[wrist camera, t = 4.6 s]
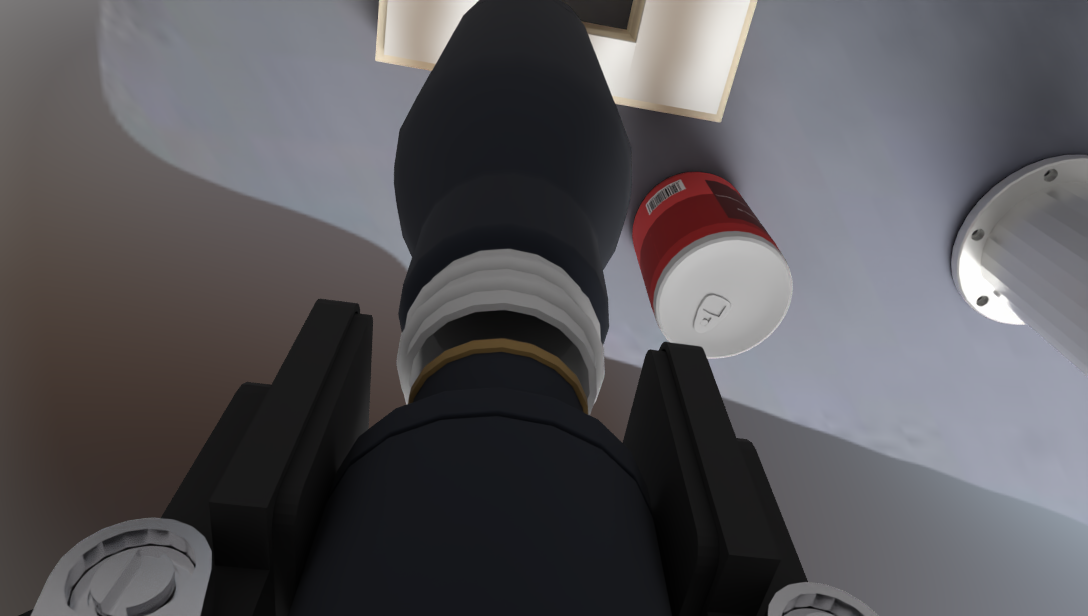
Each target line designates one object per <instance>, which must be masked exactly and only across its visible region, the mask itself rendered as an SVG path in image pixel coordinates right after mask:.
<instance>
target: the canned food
mask: <svg viewBox="0 0 1088 616" xmlns="http://www.w3.org/2000/svg"><path fill="white" fill-rule="evenodd" d="M632 238H633V244H634V249H635V252H636V255H637V259H638V262H639V266H640V269H641V273H642V276H643V279H644V283H645V286H646V290H647V293H648V297H649V300H650V303H651V307H652V309H653V312H654V315H655V318H656V321H657V323H658V326H659V328H660V329H661V331H662V333H663V334H664V336H665V337H666V338H667V340H668V341H669V342H671V343H679V344H687V345H695V346H701V347H702V348H703V349H704V351H705V354H706V357H707V358H709V359H713V358H725V357H730V356H734V355H737V354H740V353H743V352H745V351H748V350H750V349H751V348H753V347H755V346H756V345H758V344H760V343H761V342H762V341H764V340H765V339H766V338H767V337H768V336H770V335H771V334H772V333H773V331H774V330H775V329H776V328H777V327H778V326H779V324H780V323H781V321H782V320H783V318H784V317H785V315H786V313H787V310H788V308H789V305H790V303H791V297H792V291H793V287H792V277H791V273H790V270H789V267H788V265H787V262H786V260H785V258H784V257H783V255H782V253H781V252H780V250H779V249H778V247H777V245H776V244H775V242H774V241H773V240H772V238H771V237H770V235H769V234H768V233H767V231H766V230H765V228H764V227H763V226H762V224H761V223H760V221H759V220H758V219H757V217H756V216H755V215H754V213H753V212H752V210H751V209H750V208H749V206H748V205H747V203H746V202H745V201H744V199H743V198H742V196H741V195H740V194H739V192H738V191H737V190H736V189H735V188H734V187H733V186H732V185H731V184H730V183H729V182H728V181H726V180H724V179H723V178H721V177H719V176H716V175H713V174H709V173H703V172H685V173H681V174H677V175H674V176H672V177H670V178H667V179H665V180H664V181H662V182H661V183H659V184H658V185H656V186H655V187H654V188H653V189H652V190H651V191H650V192H649V193H648V194H647V196H646V197H645V199H644V200H643V201H642V203H641V205H640V207H639V209H638V211H637V214H636V216H635V220H634V224H633V234H632Z"/></svg>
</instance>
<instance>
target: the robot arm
mask: <svg viewBox="0 0 1088 616" xmlns="http://www.w3.org/2000/svg"><path fill="white" fill-rule="evenodd" d="M951 268H952V277H953V280H954V283H955V286H956V289H957V291H958V292H959V293H960V295H961V296H962V298H963V299H964V301H966V302H967V303H968V304H969V305H970V306H971V307H972V308H973V309H974V310H975V311H977V312H978V313H980V314H981V315H983V316H984V317H986V318H988V319H991V320H994V321H996V322H999V323H1006V324H1012V325H1028V326H1029V327H1030V328H1031V329H1032V330H1033V331H1035V332H1036V333H1037V334H1038V335H1039V336H1040V337H1041V338H1043V339H1044V340H1045V341H1046V342H1047V343H1048V344H1049V345H1051V346H1052V347H1053V348H1054V349H1055V350H1056V351H1058V352H1059V353H1060V354H1061V355H1062V356H1063V357H1064V358H1066V359H1067V360H1068V361H1069V362H1070V363H1071V364H1072V365H1074V366H1075V367H1076V368H1077V369H1078V370H1079V371H1080V372H1082V373H1083V374H1084V375H1085V376H1086V377H1087V378H1088V155H1062V156H1057V157H1052V158H1047V159H1044V160H1041V161H1039V162H1036V163H1033V164H1030V165H1028V166H1026V167H1024V168H1022V169H1020V170H1018V171H1016V172H1015V173H1013V174H1011V175H1009V176H1008V177H1006V178H1005V179H1004V180H1002V181H1001V182H1000V183H998V184H997V185H995V186H994V187H993V188H992V189H991V190H990V191H989V192H988V193H987V194H986V195H985V196H984V197H982V198H981V199H980V200H979V201H978V203H977V204H976V205H975V207H974V208H973V209H972V210H971V212H970V213H969V214H968V216H967V217H966V219H965V221H964V223H963V225H962V226H961V228H960V230H959V232H958V235H957V238H956V241H955V243H954V246H953V252H952V259H951ZM372 331H373V318H372V315H366V314H360V307H359V304H357V303H350V302H342V301H334V300H326V299H318V300H317V301H316V303H315V305H314V307H313V309H312V310H311V312H310V314H309V316H308V318H307V320H306V321H305V323H304V325H303V327H302V329H301V331H300V333H299V335H298V336H297V338H296V340H295V342H294V344H293V346H292V348H291V350H290V351H289V353H288V355H287V357H286V359H285V361H284V363H283V364H282V366H281V368H280V370H279V372H278V374H277V376H276V378H275V379H274V381H273V383H272V385H269V384H260V383H251V382H246V383H244V384H242V385H241V387H240V388H239V389H238V390H237V392H236V393H235V395H234V397H233V398H232V400H231V402H230V403H229V405H228V407H227V408H226V410H225V412H224V413H223V415H222V417H221V418H220V420H219V422H218V423H217V425H216V427H215V429H214V430H213V432H212V433H211V435H210V437H209V438H208V440H207V442H206V443H205V445H204V447H203V448H202V450H201V452H200V453H199V455H198V457H197V458H196V460H195V462H194V464H193V465H192V467H191V468H190V470H189V472H188V473H187V475H186V477H185V478H184V480H183V482H182V484H181V485H180V487H179V489H178V490H177V492H176V494H175V495H174V497H173V498H172V500H171V502H170V503H169V505H168V507H167V508H166V510H165V512H164V514H163V515H162V517H161V518H146V519H138V520H131V521H125V522H122V523H119V524H116V525H113V526H110V527H107V528H104V529H102V530H100V531H98V532H97V533H95V534H93V535H91V536H89V537H88V538H86V539H84V540H82V541H81V542H80V543H78V544H77V545H76V546H75V547H73V548H72V549H71V550H70V551H69V552H68V553H67V554H66V555H64V556H63V557H62V558H61V559H60V561H59V562H58V564H57V565H56V567H55V568H54V570H53V571H52V573H51V574H50V576H49V578H48V580H47V582H46V584H45V586H44V588H43V590H42V593H41V595H40V597H39V599H38V601H37V604H36V606H35V608H34V609H32V610H30V611H28V612H26V613H24V614H21V615H19V616H288V614H289V611H290V608H291V605H292V602H293V600H294V597H295V594H296V591H297V588H298V585H299V582H300V579H301V576H302V573H303V570H304V567H305V564H306V561H307V558H308V555H309V552H310V549H311V546H312V543H313V540H314V537H315V534H316V532H317V529H318V526H319V523H320V520H321V517H322V514H323V511H324V508H325V505H326V503H327V501H328V497H329V493H330V490H331V487H332V484H333V481H334V478H335V475H336V472H337V470H338V469H339V467H340V466H341V464H342V462H343V461H344V459H345V458H346V456H347V454H348V453H349V451H350V450H351V448H352V446H353V445H354V443H355V442H356V440H357V438H358V437H359V436H360V435H361V434H363V433H364V432H365V431H367V430H368V425H369V403H370V379H371V355H372ZM623 444H624V445H625V446H626V447H627V448H628V449H629V450H630V451H631V453H632V455H633V457H634V459H635V461H636V464H637V466H638V468H639V470H640V472H641V475H642V477H643V479H644V481H645V483H646V486H647V488H648V493H649V498H650V503H651V508H652V517H653V519H654V524H655V529H656V534H657V540H658V545H659V550H660V555H661V560H662V565H663V571H664V576H665V581H666V586H667V591H668V597H669V602H670V607H671V612H672V616H878V615H877V614H876V613H875V612H874V611H873V610H872V609H870V608H869V607H868V606H867V605H866V604H865V603H863V602H862V601H860V600H858V599H856V598H855V597H853V596H851V595H850V594H848V593H846V592H845V591H842V590H839V589H836V588H834V587H831V586H828V585H825V584H818V583H810V582H808V581H807V578H806V576H805V573H804V571H803V568H802V565H801V563H800V560H799V558H798V555H797V553H796V550H795V548H794V545H793V543H792V540H791V537H790V535H789V533H788V530H787V527H786V525H785V522H784V520H783V517H782V515H781V512H780V510H779V507H778V505H777V502H776V500H775V497H774V494H773V492H772V489H771V487H770V484H769V482H768V479H767V477H766V474H765V472H764V469H763V467H762V464H761V462H760V459H759V457H758V454H757V451H756V449H755V447H754V446H753V444H752V442H750V441H749V440H747V439H739V438H736V436H735V433H734V431H733V428H732V425H731V422H730V420H729V417H728V414H727V412H726V409H725V406H724V403H723V400H722V398H721V395H720V392H719V390H718V387H717V384H716V381H715V379H714V376H713V373H712V370H711V368H710V365H709V362H708V360H707V357H706V354H705V351H704V349H703V348H702V347H701V346H695V345H687V344H679V343H671V342H663V343H662V345H661V347H660V349H659V351H657V350H648V352H647V354H646V356H645V359H644V363H643V367H642V371H641V375H640V379H639V382H638V387H637V390H636V394H635V398H634V402H633V406H632V409H631V413H630V417H629V421H628V425H627V429H626V433H625V436H624V440H623Z"/></svg>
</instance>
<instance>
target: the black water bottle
mask: <svg viewBox="0 0 1088 616" xmlns="http://www.w3.org/2000/svg"><path fill="white" fill-rule="evenodd" d="M631 186H632V165H631V146H630V143H629V140H628V137H627V135H626V132H625V129H624V126H623V124H622V121H621V118H620V115H619V112H618V110H617V107H616V105H615V102H614V100H613V97H612V94H611V92H610V89H609V87H608V84H607V82H606V79H605V77H604V74H603V71H602V69H601V66H600V64H599V61H598V59H597V56H596V53H595V51H594V48H593V46H592V43H591V41H590V38H589V35H588V33H587V30H586V28H585V25H584V24H583V23H582V22H581V20H580V19H579V18H578V16H577V15H576V14H575V13H574V11H573V10H572V9H571V7H570V6H568V5H567V4H565V3H564V2H562V1H561V0H479V1H478V2H477V3H476V4H475V5H474V6H473V7H471V8H470V9H469V10H468V11H467V12H466V13H465V14H464V15H463V17H462V18H461V20H460V22H459V24H458V25H457V27H456V29H455V31H454V32H453V34H452V36H451V38H450V40H449V41H448V43H447V45H446V47H445V48H444V50H443V52H442V54H441V55H440V57H439V59H438V61H437V63H436V64H435V66H434V68H433V70H432V71H431V73H430V75H429V77H428V78H427V80H426V82H425V84H424V86H423V87H422V89H421V91H420V93H419V94H418V96H417V98H416V100H415V102H414V104H413V106H412V108H411V109H410V111H409V113H408V115H407V117H406V119H405V121H404V123H403V125H402V127H401V128H400V131H399V138H398V145H397V152H396V158H395V165H394V187H395V195H396V203H397V209H398V214H399V219H400V225H401V230H402V236H403V238H404V240H405V243H406V245H407V247H408V249H409V251H410V254H411V256H412V260H411V263H410V266H409V269H408V272H407V275H406V278H405V281H404V284H403V289H402V295H401V301H400V308H399V320H400V325H401V330H402V334H401V338H400V344H399V350H398V355H397V361H396V364H397V369H398V374H399V378H400V383H401V388H402V391H403V393H404V396H405V401H406V405H404V406H402V407H399V408H396V409H395V410H393V411H392V412H391V413H389V414H388V415H387V416H385V417H384V418H383V419H381V420H380V421H379V422H377V423H376V424H375V425H374V426H372V427H371V428H369V429H368V430H367V431H365V432H364V433H363V434H361V435H360V436H359V437H358V438H357V440H356V442H355V443H354V445H353V446H352V448H351V450H350V451H349V453H348V454H347V456H346V458H345V459H344V461H343V462H342V464H341V466H340V467H339V469H338V470H337V472H336V475H335V478H334V481H333V484H332V487H331V490H330V493H329V497H328V501H327V503H326V505H325V508H324V511H323V514H322V517H321V520H320V523H319V526H318V529H317V532H316V534H315V537H314V540H313V543H312V546H311V549H310V552H309V555H308V558H307V561H306V564H305V567H304V570H303V573H302V576H301V579H300V582H299V585H298V588H297V591H296V594H295V597H294V600H293V602H292V605H291V608H290V611H289V614H288V616H672V612H671V607H670V602H669V597H668V591H667V586H666V581H665V576H664V571H663V565H662V560H661V555H660V550H659V545H658V540H657V534H656V529H655V524H654V519H653V517H652V508H651V503H650V498H649V493H648V488H647V486H646V483H645V481H644V479H643V477H642V475H641V472H640V470H639V468H638V466H637V464H636V461H635V459H634V457H633V455H632V453H631V451H630V450H629V449H628V448H627V447H626V446H625V445H624V444H623V443H622V442H621V441H619V439H618V438H617V437H616V436H615V435H614V434H612V433H611V432H610V431H609V430H608V429H607V428H606V427H605V426H604V425H603V424H602V423H601V422H600V421H599V420H598V419H596V418H594V417H592V416H590V413H591V410H592V407H593V404H594V403H595V402H596V399H597V396H598V393H599V391H600V388H601V385H602V381H603V379H604V376H605V369H604V347H603V344H604V341H605V338H606V335H607V332H608V329H609V314H608V296H607V290H606V285H605V280H604V274H603V269H604V268H605V266H606V265H607V263H608V261H609V260H610V258H611V256H612V255H613V253H614V252H615V249H616V246H617V243H618V240H619V237H620V234H621V230H622V227H623V224H624V221H625V218H626V214H627V210H628V206H629V202H630V195H631Z"/></svg>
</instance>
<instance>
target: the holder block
mask: <svg viewBox="0 0 1088 616" xmlns="http://www.w3.org/2000/svg"><path fill="white" fill-rule="evenodd" d="M478 1H479V0H379V13H378V28H377V43H376V58H375V61H380V62H385V63H391V64H396V65H402V66H408V67H413V68H419V69H424V70H430V71H432V70H433V68H434V66H435V64H436V63H437V61H438V59H439V57H440V55H441V54H442V52H443V50H444V48H445V47H446V45H447V43H448V41H449V40H450V38H451V36H452V34H453V32H454V31H455V29H456V27H457V25H458V24H459V22H460V20H461V18H462V17H463V15H464V14H465V13H466V12H467V11H468V10H469V9H470V8H471V7H473V6H474V5H475V4H476V3H477V2H478ZM756 4H757V0H633V4H632V8H631V12H630V17H629V21H628V26H627V30H625V29H620V28H614V27H609V26H604V25H599V24H593V23H588V22H583V21H581V22H582V23H583V24H584V25H585V28H586V30H587V33H588V35H589V38H590V41H591V43H592V46H593V48H594V51H595V53H596V56H597V59H598V61H599V64H600V66H601V69H602V71H603V74H604V77H605V79H606V82H607V84H608V87H609V89H610V92H611V94H612V97H613V100H614V102H615V104H620V105H625V106H631V107H636V108H642V109H647V110H653V111H659V112H664V113H670V114H675V115H681V116H686V117H692V118H698V119H703V120H709V121H714V122H720V123H721V120H722V116H723V113H724V110H725V106H726V103H727V100H728V96H729V93H730V90H731V87H732V83H733V80H734V77H735V73H736V70H737V67H738V63H739V60H740V57H741V53H742V50H743V47H744V43H745V40H746V37H747V34H748V30H749V27H750V24H751V20H752V17H753V14H754V10H755V7H756Z"/></svg>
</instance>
